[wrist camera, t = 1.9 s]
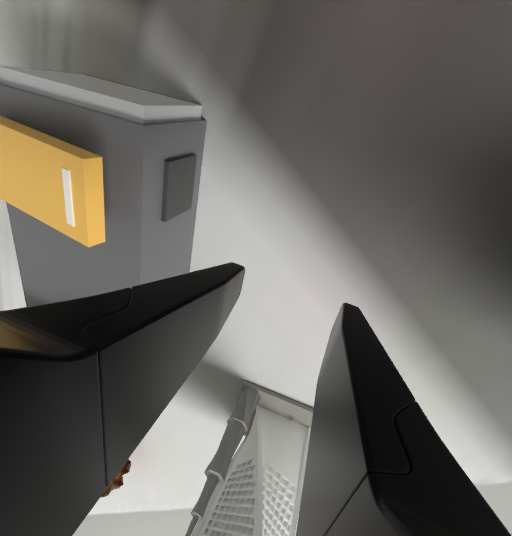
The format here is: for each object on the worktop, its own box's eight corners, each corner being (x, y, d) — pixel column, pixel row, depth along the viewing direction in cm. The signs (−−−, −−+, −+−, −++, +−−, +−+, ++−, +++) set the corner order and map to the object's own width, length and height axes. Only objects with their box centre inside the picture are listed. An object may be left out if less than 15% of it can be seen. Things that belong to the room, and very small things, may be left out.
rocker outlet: (102, 157, 15) (81, 159, 14) (105, 241, 17) (87, 247, 16) (-1, 115, 18) (-23, 114, 17) (13, 192, 20) (-6, 196, 19)
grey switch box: (212, 108, 20) (150, 109, 15) (182, 356, 31) (140, 410, 26) (77, 72, 22) (-21, 62, 17) (93, 318, 33) (37, 360, 28)
